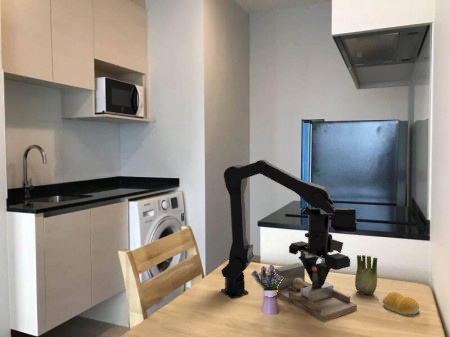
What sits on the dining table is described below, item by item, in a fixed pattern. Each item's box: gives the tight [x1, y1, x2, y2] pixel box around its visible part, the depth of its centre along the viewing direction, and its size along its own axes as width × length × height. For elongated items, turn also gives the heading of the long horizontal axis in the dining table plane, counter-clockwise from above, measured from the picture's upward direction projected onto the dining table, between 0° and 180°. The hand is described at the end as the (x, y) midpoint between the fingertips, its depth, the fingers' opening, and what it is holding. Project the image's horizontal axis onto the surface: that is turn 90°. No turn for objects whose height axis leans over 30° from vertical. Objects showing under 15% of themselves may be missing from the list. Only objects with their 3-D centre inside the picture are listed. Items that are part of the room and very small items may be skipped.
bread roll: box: [382, 291, 420, 315], centre depth 104 cm, size 8×9×4 cm
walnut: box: [293, 278, 304, 290], centre depth 113 cm, size 4×4×4 cm
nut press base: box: [273, 262, 358, 323], centre depth 108 cm, size 22×13×8 cm, turn 32°
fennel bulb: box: [354, 254, 378, 296], centre depth 113 cm, size 6×5×12 cm
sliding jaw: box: [301, 263, 334, 302], centre depth 106 cm, size 4×10×9 cm, turn 122°
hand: (317, 283), depth 106 cm, fingers closed on sliding jaw, 3 cm apart
